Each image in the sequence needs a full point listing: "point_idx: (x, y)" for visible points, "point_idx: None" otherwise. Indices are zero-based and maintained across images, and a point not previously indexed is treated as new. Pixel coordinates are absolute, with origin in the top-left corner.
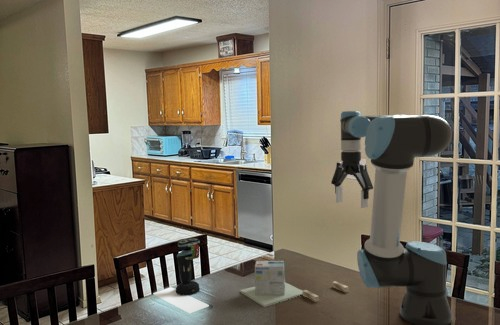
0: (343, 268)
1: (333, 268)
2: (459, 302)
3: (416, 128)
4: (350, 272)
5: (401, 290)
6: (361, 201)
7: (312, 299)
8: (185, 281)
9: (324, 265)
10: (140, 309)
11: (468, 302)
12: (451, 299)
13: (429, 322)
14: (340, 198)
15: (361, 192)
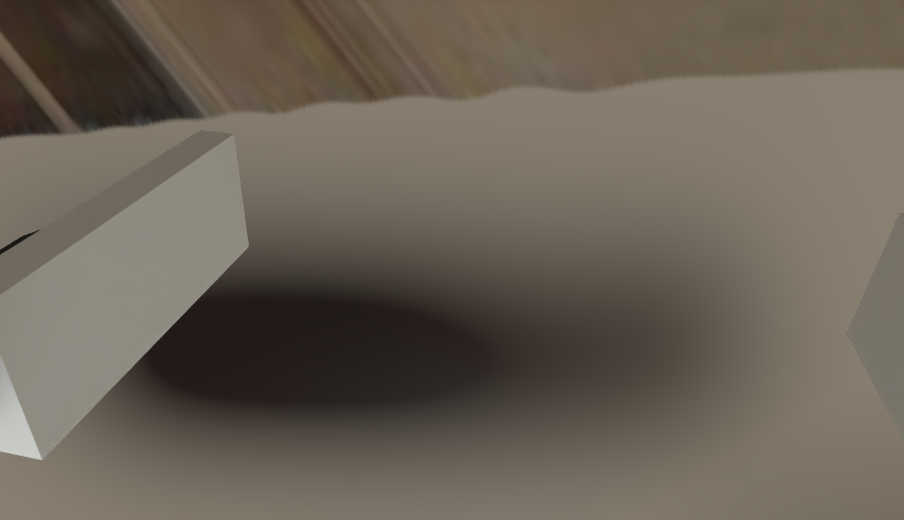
0: (710, 69)
1: (772, 14)
2: (23, 103)
3: None
4: (623, 42)
5: (237, 27)
6: (157, 178)
7: None
8: None
9: (874, 13)
10: None
11: (12, 131)
12: (59, 108)
13: None
14: (895, 337)
15: (3, 278)
